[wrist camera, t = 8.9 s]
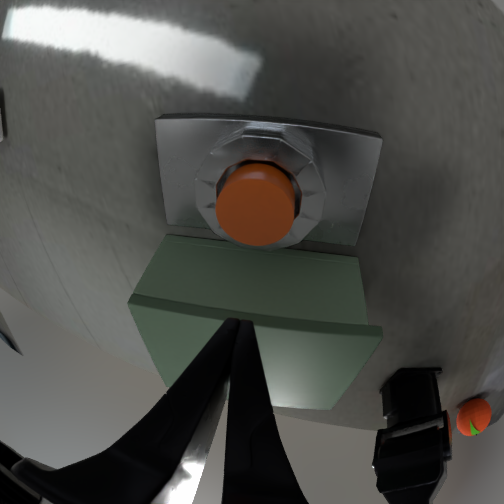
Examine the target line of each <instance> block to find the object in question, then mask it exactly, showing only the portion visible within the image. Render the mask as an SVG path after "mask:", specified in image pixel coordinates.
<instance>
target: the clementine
mask: <svg viewBox="0 0 504 504" xmlns="http://www.w3.org/2000/svg"><path fill="white" fill-rule="evenodd" d="M490 419H491V408H490V405H489V404H488V402H487V401H485V400H484V399H480V398H477V399H472V400H470V401H468V402H467V403H466V404H464V405H463V407H462V408H461V409H460V411H459V413H458V416H457V427H458V429H459V431H460V432H461V433H462V434H464V435H467V436H473V435H477V434H478V433H480V432H482V431H483V430H484V429H485V428H486V427H487V425H488V424H489V422H490Z"/></svg>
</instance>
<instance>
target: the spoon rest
mask: <svg viewBox="0 0 504 504" xmlns="http://www.w3.org/2000/svg"><path fill="white" fill-rule="evenodd" d="M2 140H3V129H2V121H1V110H0V142H1V141H2Z"/></svg>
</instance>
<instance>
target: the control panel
mask: <svg viewBox="0 0 504 504" xmlns="http://www.w3.org/2000/svg"><path fill="white" fill-rule="evenodd" d="M155 132H156V142H157V152H158V161H159V169H160V177H161V185H162V192H163V200H164V206H165V213H166V220H167V224H168V225H177V226H186V227H196V228H205V229H211V230H212V231H213V232H214V233H215V234H216V235H218V236H220V237H222V238H223V239H225V240H227V241H228V242H230V243H232V244H234V245H235V246H237V247H239V248H240V247H241V248H244V249H252V250H261V251H269V252H270V251H271V252H272V251H276V250H279V249H282V248H285V247H288V246H292V245H295V244H298V243H300V242H301V241H302V240H309V241H317V242H325V243H333V244H340V245H348V246H356V243H357V239H358V236H359V233H360V229H361V226H362V223H363V219H364V216H365V212H366V208H367V205H368V201H369V197H370V194H371V190H372V186H373V182H374V178H375V174H376V170H377V165H378V161H379V157H380V152H381V148H382V143H383V138H382V137H381V136H380V135H379V134H378V133H377V132H372V131H367V130H362V129H357V128H351V127H346V126H340V125H334V124H327V123H320V122H313V121H305V120H297V119H288V118H278V117H266V116H252V115H233V114H163V115H161V116H160V117H158V118H156V119H155ZM255 163H258V164H266V165H270V166H272V167H275V168H277V169H278V170H280V171H281V172H283V173H284V174H285V175H286V176H287V177H288V179H289V180H290V182H291V183H292V185H293V188H294V191H295V210H294V221H293V224H292V227H291V229H290V230H289V232H288V233H287V234H286V235H285V236H284V237H283V238H282V239H280V240H279V241H277V242H275V243H272V244H269V245H263V246H253V245H247V244H244V243H241V242H239V241H237V240H235V239H233V238H232V237H230V236H229V235H228V234H227V233H226V232H225V231H224V230H223V229H222V228H221V226H220V224H219V222H218V220H217V217H216V211H215V206H216V201H217V198H218V196H219V194H220V192H221V190H222V188H223V186H224V184H225V182H226V180H227V179H228V177H229V176H230V174H231V173H233V172H234V171H235V170H236V169H238V168H240V167H242V166H244V165H248V164H255Z"/></svg>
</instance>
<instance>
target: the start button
mask: <svg viewBox="0 0 504 504" xmlns="http://www.w3.org/2000/svg"><path fill="white" fill-rule="evenodd" d="M294 210H295V191H294V188H293V185H292V183H291V182H290V180H289V179H288V177H287V176H286V175H285V174H284V173H283V172H281V171H280V170H278V169H277V168H275V167H272V166H270V165H266V164H258V163H255V164H248V165H244V166H242V167H240V168H238V169H236V170H235V171H234V172H233V173H231V174H230V176H229V177H228V179H227V180H226V182H225V184H224V186H223V188H222V190H221V192H220V194H219V196H218V198H217V201H216V206H215V211H216V217H217V220H218V222H219V224H220V226H221V228H222V229H223V230H224V231H225V232H226V233H227V234H228V235H229V236H230V237H232V238H233V239H235V240H237V241H239V242H241V243H244V244H247V245H253V246H263V245H269V244H272V243H275V242H277V241H279V240H280V239H282V238H283V237H284V236H285V235H286V234H287V233H288V232H289V230H290V229H291V227H292V224H293V221H294Z"/></svg>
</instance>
